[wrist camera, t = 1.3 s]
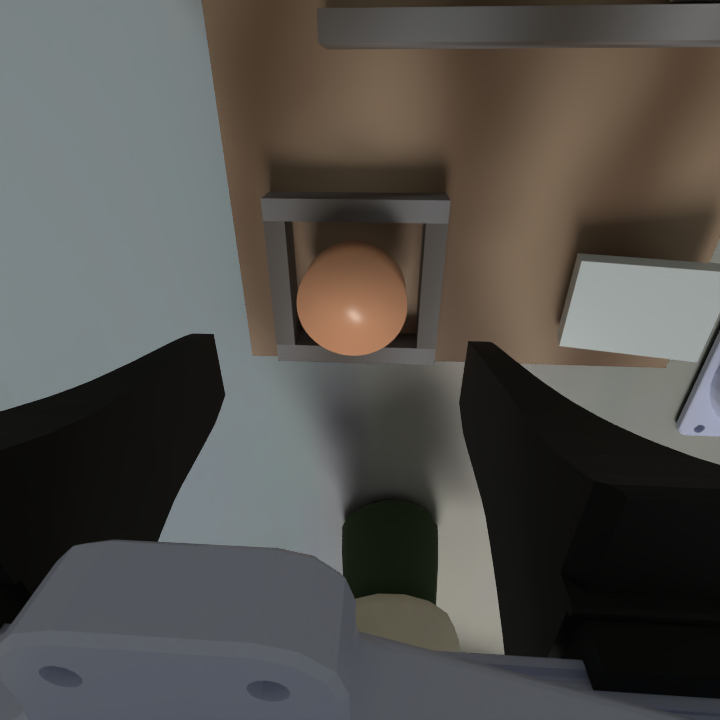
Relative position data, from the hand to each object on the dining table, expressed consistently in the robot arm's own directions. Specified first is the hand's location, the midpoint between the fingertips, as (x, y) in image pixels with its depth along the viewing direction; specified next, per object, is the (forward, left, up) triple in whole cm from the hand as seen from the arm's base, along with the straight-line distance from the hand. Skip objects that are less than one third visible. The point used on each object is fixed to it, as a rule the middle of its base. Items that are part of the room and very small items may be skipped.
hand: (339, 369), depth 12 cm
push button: (0, 0, -6) cm, 6 cm away
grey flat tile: (-11, +1, -6) cm, 13 cm away
